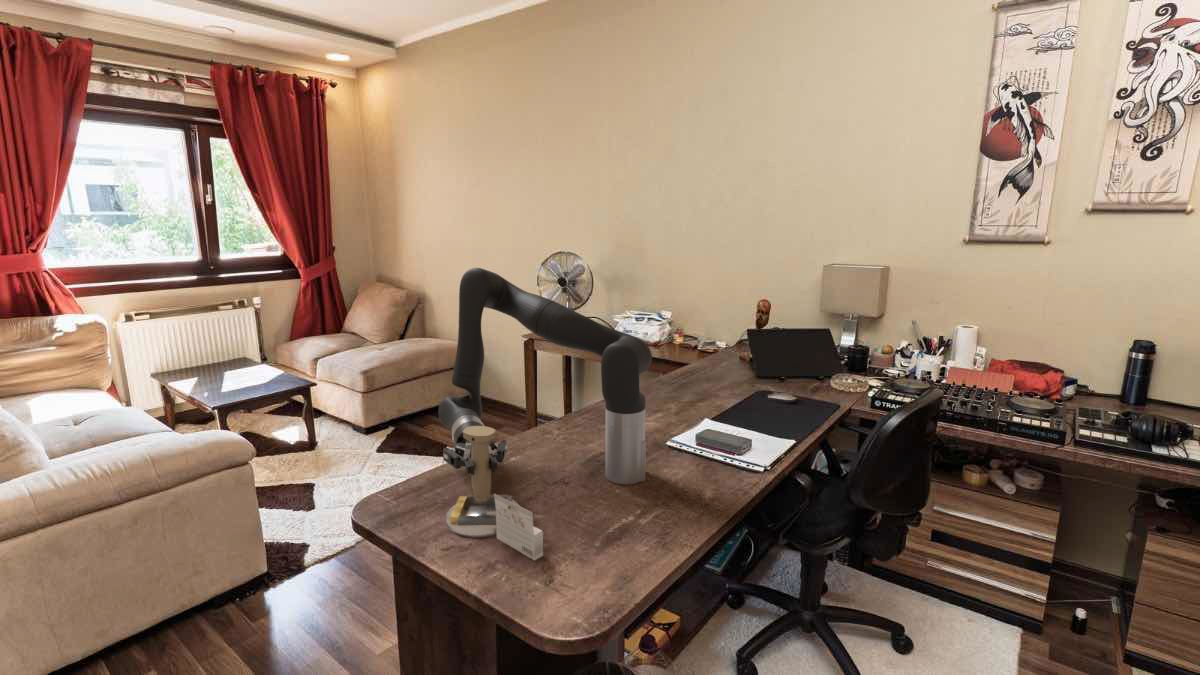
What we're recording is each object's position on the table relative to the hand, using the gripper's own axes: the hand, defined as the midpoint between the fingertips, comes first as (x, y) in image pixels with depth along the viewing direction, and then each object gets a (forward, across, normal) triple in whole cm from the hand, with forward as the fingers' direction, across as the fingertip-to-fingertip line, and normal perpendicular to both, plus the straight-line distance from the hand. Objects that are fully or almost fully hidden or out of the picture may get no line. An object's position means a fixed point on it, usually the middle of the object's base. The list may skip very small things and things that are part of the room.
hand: (483, 469), depth 114 cm
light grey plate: (-2, 0, +12) cm, 12 cm away
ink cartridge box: (+11, +5, +12) cm, 17 cm away
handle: (-3, 0, +8) cm, 9 cm away
